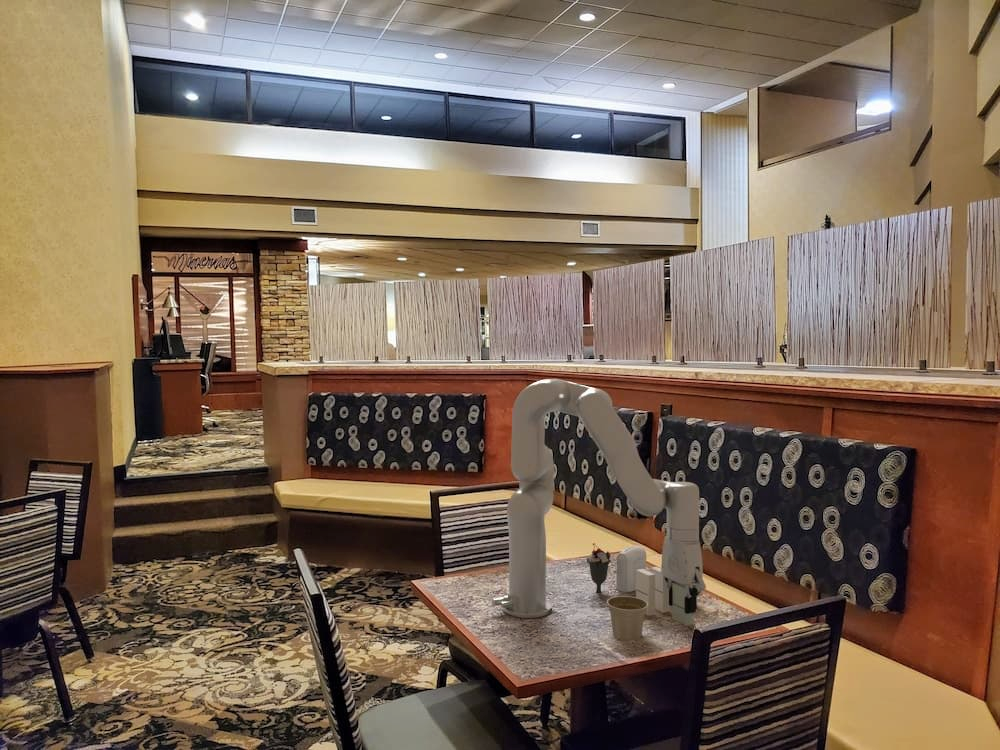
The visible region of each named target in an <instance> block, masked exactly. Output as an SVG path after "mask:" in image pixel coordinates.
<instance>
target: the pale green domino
mask: <svg viewBox="0 0 1000 750" xmlns="http://www.w3.org/2000/svg"><path fill="white" fill-rule="evenodd" d="M690 589H691V590H692V589H693V588H692V587H690ZM672 590H673V606H672V615H671V617H672V618H671V619H672V620H674V621H676V622H678V623H680V624H682V625H684V626H686V627H687V626H693V625H694V624H693V623H694V622H693V619H694V618H693V616H694V615H693V613H690V614H686V613H685V597H686V596H687V595H686V589H685V586H684V585H682V584H679V583H677V582H675V583H672Z"/></svg>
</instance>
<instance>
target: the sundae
mask: <svg viewBox="0 0 1000 750" xmlns="http://www.w3.org/2000/svg"><path fill="white" fill-rule="evenodd" d="M592 545H593V546H594V547H596V548H597V549H596V550H595V549H593V550H592V551H591V554H590V555H589V557H587V558H586V562H587V563H588V566H589V572H590V577H591V580H592V582H593V583H595V585H596V589H595V590H596V591H595V593H596V594H599V595H600V594H602V593H603V592H602V585H603V584H604V583H605V582H606V581H607V577H608V572H609V571H608V570H609V563H611V562H612V559H610V558H611V554H610V551H608V550H607V551H606V552H605V551H604V550H602V549H601V548H599V547H597V545H596V543H594V542H593V543H592Z"/></svg>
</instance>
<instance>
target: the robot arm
mask: <svg viewBox="0 0 1000 750" xmlns="http://www.w3.org/2000/svg"><path fill="white" fill-rule="evenodd" d="M553 412H558V413H559V412H560V413H563V414H567V415H571V416H573V417H574V416H575V417H578V418H579V420H580V422H581V423H582V425H583V426H584V428H585V430H586V432H588V434H589V435H590V436H591V438H592V440H593V441H594V443H595V444H596V446H597V448H598V450H599V451H600V453H601V454H602V455H603V457H604V460H605V462H606V464H607V465H608V467H609V468H610V470H611V472H612V474H613V476H614V478H615V480H616V482H617V484H618V485H619V487H620V488H621V490H622V492H623V493H624V494H625V496H626V498H627V499H628V501H629V502H630V504H631V506H632V507H633V508H634V509H635V510H636V511H637V513H639V514H640V515H642V516H645V517H655V516H658V515H659V514H660V513H661V512H662V511H663V510H664V509H666V536H665V537H664V539H663V544H662V545H663V546H662V552H661V567H660V568H661V572H662V575H663V576H664V577H665V580H666V582H667V588H668V589H669V605H670V606H673V590H672V583H675V582H677V583H679V584H682V585H684V586H685V589H686V595H687V596H686V597H685V613H686V614H690V613H697V611H698V610H697V604H698V597H699V596H700V593H702V591H704V590H705V589H707V586H706V584H705V581H704V579H703V576H704V575H703V573H704V572H703V556H702V549H701V542H700V538H699V537H700V489H699V486H698V485H697V484H696V483H693V482H689V481H667V480H661V479H655V478H652V476H651V475H650V473H649V472H648V470H647V468H646V467H645V464H644V463H643V461H642V459H641V458H640V455H639V451H638V448H637V444H636V441H635V439H634V437H633V436H632V434H631V432H630V431H629V429H628V428H627V427H626V425H625V424H624V423H623V420H622V419H621V417H620V416H619V415H618V413H617V412H616V410H615V409H614V407H613V400H612V398H611V396H610V395H609V394H608V392H606V391H604V390H603V389H599V388H596V387H591V386H588V385H587V386H586V385H582V384H579V383H575V382H572V381H568V380H563V379H560V378H559V379H558V378H546V379H540V380H538V381H536V382H533V383H532V384H529V385H528V386H526V387H525V388H523V389H522V391H520V393H518V396H517V397H516V398H515V401H514V403H513V407H512V414H511V415H512V416H511V417H512V418H511V441H510V442H511V443H510V444H511V446H510V447H511V451H510V452H511V454H510V456H511V457H510V469H511V473H512V474H513V476H514V478H515V479H516V480H518V481H519V482H518V484H519V485H518V487H519V488H518V489H516V490H515V491H514V493H513V494H511V496H510V497H509V500H508V502H507V507H506V519H507V527H508V548H509V549H508V561H509V562H508V563H509V565H508V574H509V575H508V584H509V585H508V590H507V591H504V592H505V593H504V594H505V595H502V597H494V598H492V599H491V605H492V607H497V606H500V607H501V609H503V612H505V613H506V614H507V615H509V616H512V617H515V618H522V619H534V618H535V619H536V618H542V617H545V616H547V615H549V614H550V613H551V612H552V610H553V609H552V604H551V602H550V601H548V600H547V538H546V537H547V535H546V525H545V524H546V523H545V517H546V515H547V514H548V513H549V511H550V510H551V508H552V506H553V503H554V478H555V477H554V476H555V475H554V469H555V468H554V464H555V463H554V458H553V457H554V456H553V453H552V451H551V449H550V448H549V447H548V446H547V445H546V444H545V432H546V431H545V430H546V427H545V417H546V415H547V414H549V413H553ZM690 586H692V587H693V589H692V590H691V589H690Z"/></svg>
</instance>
